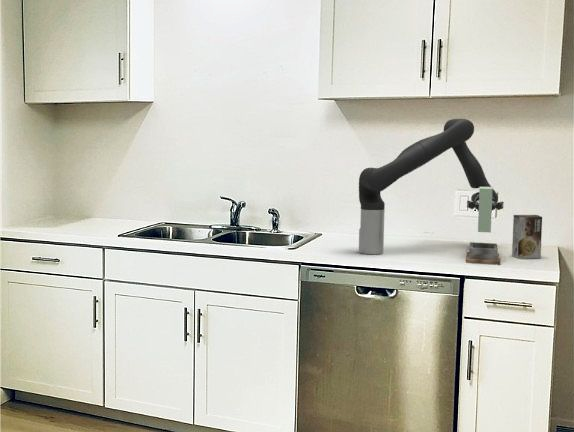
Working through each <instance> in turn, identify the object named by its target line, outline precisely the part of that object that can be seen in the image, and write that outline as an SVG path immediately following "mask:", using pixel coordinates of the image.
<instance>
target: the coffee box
mask: <svg viewBox="0 0 574 432" xmlns="http://www.w3.org/2000/svg"><path fill="white" fill-rule="evenodd" d="M512 221H513V222H512V223H513V224H512V242H511V243H512V245H511V247H512V249H511V256H512V257H514V258H516V259H541V257H542V232H543V231H542V230H543V216H541V215H538V214H513V220H512Z"/></svg>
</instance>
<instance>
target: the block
mask: <svg viewBox="0 0 574 432" xmlns="http://www.w3.org/2000/svg"><path fill="white" fill-rule="evenodd" d="M492 188H493V186H491V187H480V188H478V190H479V191H478V192H479V211H478V218H477V219H478V222H477V232H478V233H492V232H491V231H492V214H493V213H492V211H493V210H492V190H493V189H494V188H493V189H492Z"/></svg>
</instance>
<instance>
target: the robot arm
mask: <svg viewBox="0 0 574 432" xmlns="http://www.w3.org/2000/svg"><path fill="white" fill-rule="evenodd" d="M474 132H475V126H474V123H473V122H472V121H471V120H470V119H466V118H451V119H448V120H447V121H446V122H445V123H444V125H443V131H442V132H440V133H437V134H435V135H432V136H429V137H425V138H423V139H420V140H417V141H416V142H414V143H412V144H411V145H409V146H407V147H406V148H404V149H403V150H402V151H401V152H400V153H399V155H398V156H396V158H395V159H394V160H392V161H390V162H389V163H388V162H387V163H386V164H385V165H382V166H380V167H367V168H364V169H363V170H362V171H361V172H360V174H359V177H358V201H359V203H360V221H359V222H360V223H359V224H360V226H359V227H360V228H359V230H358V254H364V255H382V254H384V248H385V247H384V244H385V243H384V239H385V237H384V236H385V212H386V211H385V202H384V200H383V199H382V196H381V192H383V191H385V190H386V189H388V188H389V187H391V185H393V184H394V183H395V182H397V181H398V180H399V179H400V178H401V179H402V177H405V176H406V175H409V174H410V173H412V172H413V171H415V170H417V169H419V168H421V167H423V166H424V165H426V164H428V163H429V162H430V161H432V160H434V159H435V158H437V157H439V156H440V155H442V154H444V153H445V152H446V151H448V150H450V149H452V150H453V152H454V154H455V155H456V158H457V159H458V161H459V163H460V165H461V168H462V169H463V171H464V174H465V177H466V179H467V181H468V184H469V186H470V188H471V189H480V187H492V186H491V184H490V182H489V181H488V179H487V177H486V174H485V172H484V170H483V167H482V165H481V164H480V162H479V161H478V159H477V157H476V156H475V155H474V154H473V153H472V151H471V149H470V148H469V146H468V145H467V143H466V142H467V141H468V140H470V139H471V138H472V136H473V134H474ZM492 189H493V190H492V211H495V210H497V211H500V210H502V209H504V206H505V205H504V201H499V196H498V195H499V194H497V192H496V191H495V189H494V188H493V187H492ZM466 208H468V209H471V210H473V209H474V208H475V210H477V212H479V191H478V192H476V193H475V192H474V193H473V194H472V196H471V198H470V200H466Z"/></svg>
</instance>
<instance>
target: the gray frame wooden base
mask: <svg viewBox="0 0 574 432" xmlns="http://www.w3.org/2000/svg"><path fill="white" fill-rule="evenodd" d="M498 248H499V247H498V244H497V243H491V242H472V241H471V242H469V249H468V251H466V253H465V254H466V255H465V263H466V264H482V265H496V264H497V265H498V266H500V265H501V257H500V253H499V251H498V250H499V249H498ZM497 265H496V266H497Z"/></svg>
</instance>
